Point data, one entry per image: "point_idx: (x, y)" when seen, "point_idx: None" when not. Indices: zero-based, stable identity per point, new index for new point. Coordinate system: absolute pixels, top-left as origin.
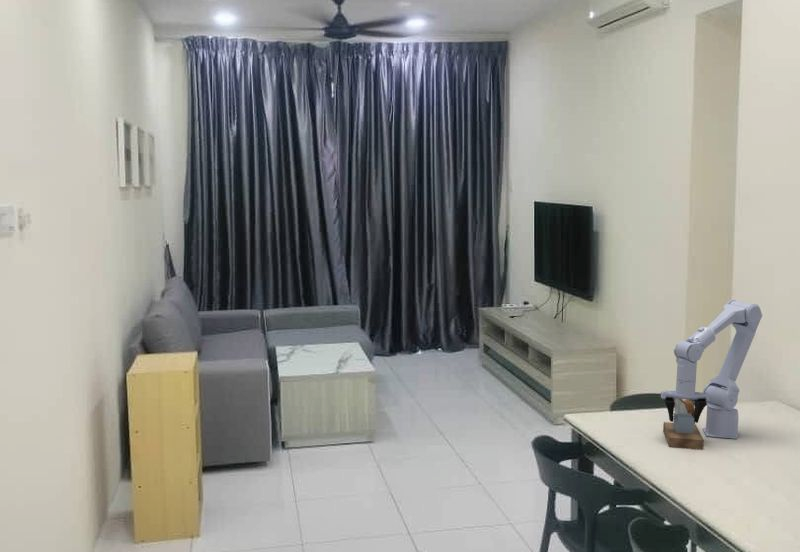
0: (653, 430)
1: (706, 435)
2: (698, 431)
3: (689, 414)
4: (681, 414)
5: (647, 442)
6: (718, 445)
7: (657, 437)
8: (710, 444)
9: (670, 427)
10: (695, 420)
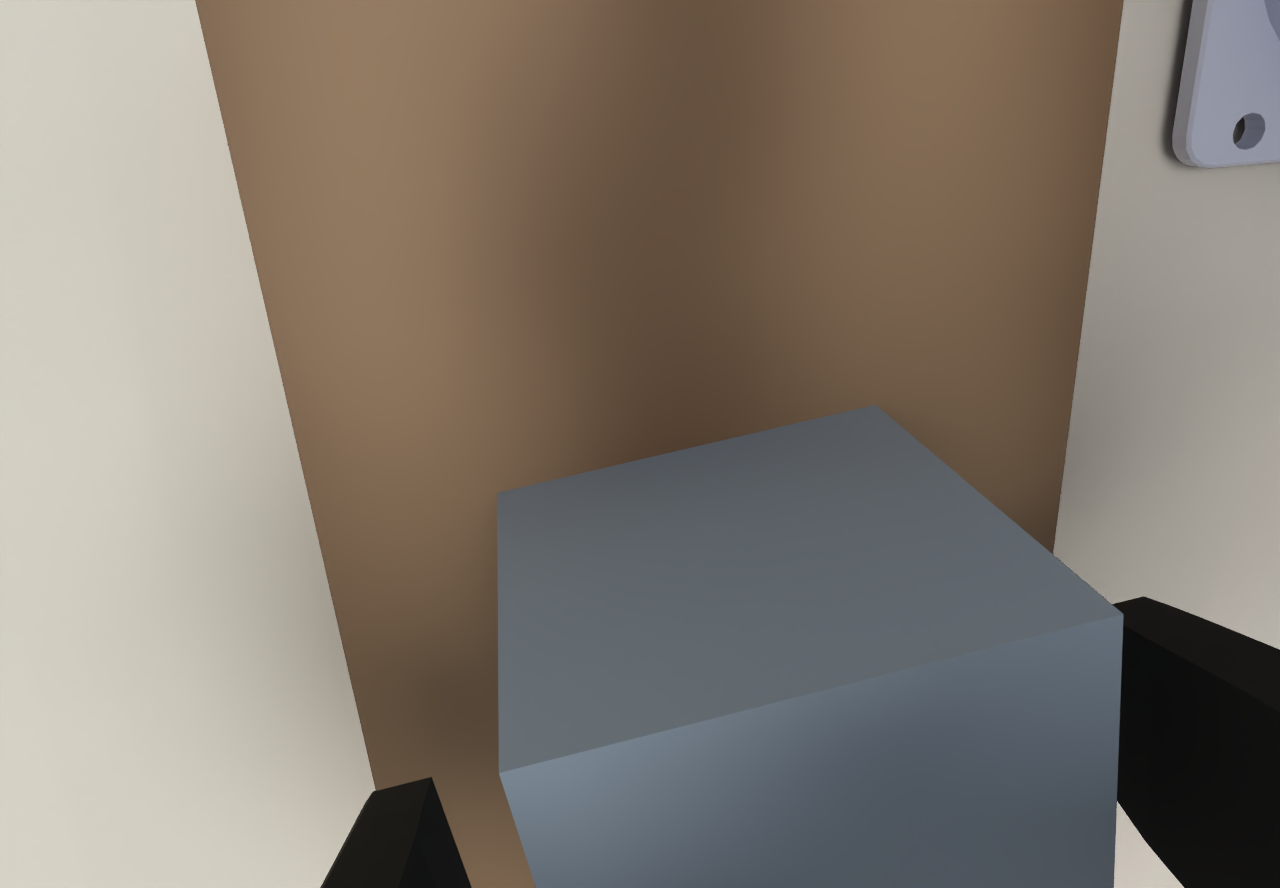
0: (18, 38)
1: (1181, 151)
2: (1039, 532)
3: (1068, 736)
4: (776, 841)
5: (75, 850)
6: (1207, 565)
7: (204, 532)
8: (1099, 563)
9: (432, 473)
10: (1121, 755)
